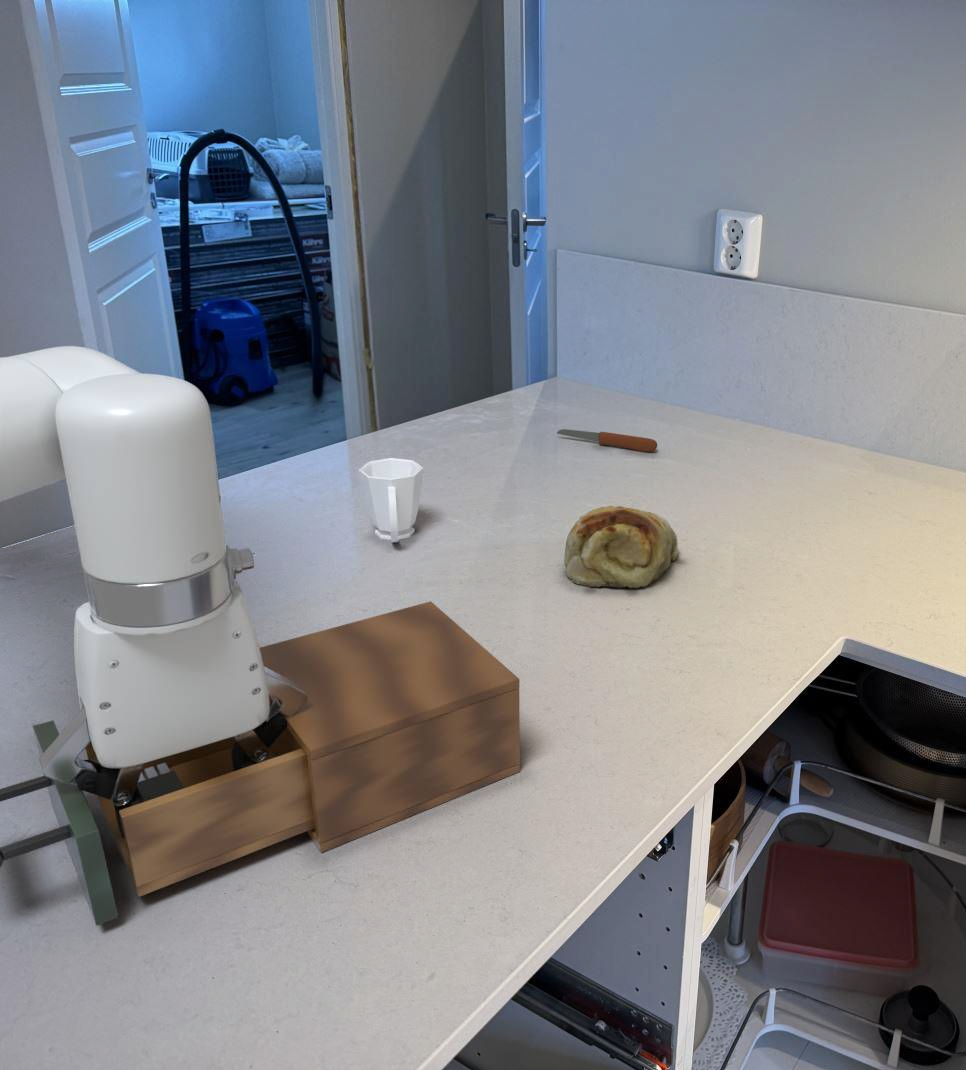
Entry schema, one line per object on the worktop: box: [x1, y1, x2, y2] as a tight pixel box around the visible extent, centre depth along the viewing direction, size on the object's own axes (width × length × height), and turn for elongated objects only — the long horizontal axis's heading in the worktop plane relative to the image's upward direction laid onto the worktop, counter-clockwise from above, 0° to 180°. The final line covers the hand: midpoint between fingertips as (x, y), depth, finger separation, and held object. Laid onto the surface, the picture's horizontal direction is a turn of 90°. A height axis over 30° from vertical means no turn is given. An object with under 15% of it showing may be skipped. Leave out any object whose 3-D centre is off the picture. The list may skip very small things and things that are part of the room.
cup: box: [358, 457, 424, 543], centre depth 113 cm, size 7×10×8 cm
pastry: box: [563, 505, 679, 589], centre depth 110 cm, size 14×12×8 cm
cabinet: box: [259, 600, 521, 853], centre depth 76 cm, size 16×15×9 cm
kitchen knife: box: [556, 428, 658, 453], centre depth 149 cm, size 16×1×2 cm, turn 78°
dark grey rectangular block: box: [137, 763, 184, 802], centre depth 67 cm, size 10×3×3 cm, turn 41°
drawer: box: [0, 705, 315, 926], centre depth 66 cm, size 20×13×7 cm
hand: (196, 817), depth 67 cm, fingers open, 6 cm apart
